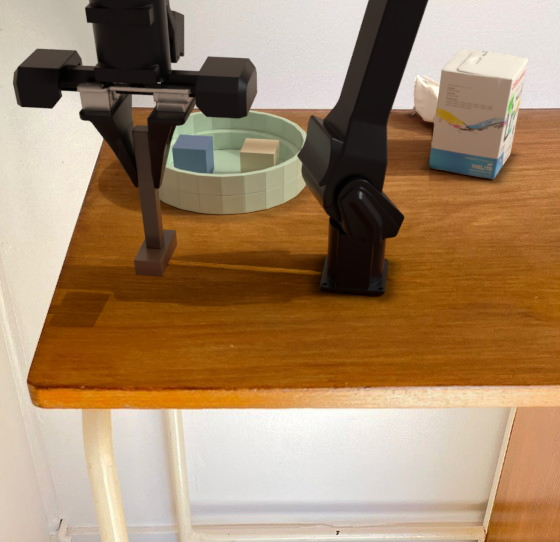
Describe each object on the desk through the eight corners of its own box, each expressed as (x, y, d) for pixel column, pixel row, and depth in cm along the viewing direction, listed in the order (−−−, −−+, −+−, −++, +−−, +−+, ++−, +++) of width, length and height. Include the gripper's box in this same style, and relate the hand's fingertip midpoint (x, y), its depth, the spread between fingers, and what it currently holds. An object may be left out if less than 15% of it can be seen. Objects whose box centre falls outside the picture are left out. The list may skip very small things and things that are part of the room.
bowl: (296, 224, 95) (296, 181, 91) (129, 213, 97) (123, 170, 93) (315, 153, 108) (317, 113, 105) (169, 145, 110) (165, 105, 107)
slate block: (207, 183, 101) (205, 149, 98) (174, 181, 101) (171, 147, 98) (214, 169, 104) (212, 136, 101) (182, 167, 104) (179, 134, 101)
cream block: (274, 187, 100) (274, 153, 97) (240, 185, 100) (239, 151, 97) (279, 173, 103) (279, 139, 100) (246, 171, 103) (245, 138, 100)
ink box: (494, 181, 102) (513, 79, 94) (426, 168, 105) (439, 68, 97) (511, 154, 108) (530, 55, 100) (447, 143, 110) (460, 45, 102)
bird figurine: (397, 129, 117) (445, 135, 109) (403, 73, 114) (452, 76, 106) (426, 129, 119) (474, 135, 112) (431, 75, 116) (481, 77, 108)
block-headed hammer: (162, 277, 77) (147, 143, 68) (135, 275, 77) (117, 142, 68) (177, 244, 81) (165, 115, 72) (151, 242, 81) (136, 113, 73)
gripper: (266, -41, 68) (268, 154, 79) (41, -49, 69) (74, 143, 80) (242, -1, 60) (248, 209, 71) (-11, -11, 62) (33, 195, 73)
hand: (148, 186), depth 74 cm, fingers closed on block-headed hammer, 1 cm apart
